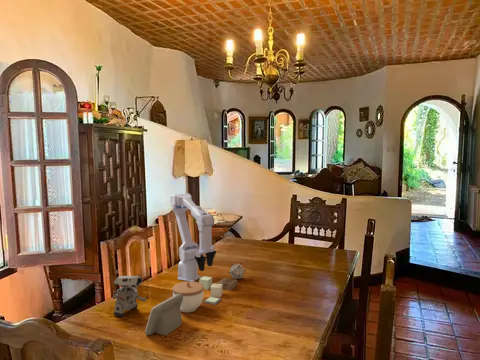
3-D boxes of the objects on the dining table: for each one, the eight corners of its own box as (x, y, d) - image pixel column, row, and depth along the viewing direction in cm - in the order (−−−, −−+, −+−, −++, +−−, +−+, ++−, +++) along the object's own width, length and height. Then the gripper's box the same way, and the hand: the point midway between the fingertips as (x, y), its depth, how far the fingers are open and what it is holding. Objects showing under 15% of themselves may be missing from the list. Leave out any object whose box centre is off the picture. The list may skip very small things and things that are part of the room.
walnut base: (217, 288, 165) (217, 282, 165) (224, 283, 172) (224, 277, 171) (230, 291, 162) (230, 284, 162) (237, 286, 169) (237, 280, 168)
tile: (202, 302, 149) (202, 300, 149) (209, 297, 154) (209, 295, 154) (215, 305, 146) (215, 303, 146) (221, 299, 152) (221, 298, 152)
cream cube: (210, 296, 155) (210, 287, 155) (212, 292, 159) (212, 283, 159) (220, 297, 154) (220, 287, 154) (222, 293, 159) (222, 283, 158)
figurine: (134, 320, 133) (133, 282, 132) (110, 315, 137) (109, 277, 136) (149, 310, 141) (148, 274, 140) (126, 305, 145) (125, 270, 144)
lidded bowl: (178, 318, 135) (177, 290, 134) (168, 305, 146) (168, 279, 145) (208, 311, 140) (208, 284, 140) (197, 299, 152) (197, 275, 151)
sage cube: (199, 288, 165) (199, 279, 165) (204, 285, 169) (204, 276, 169) (207, 289, 163) (207, 280, 163) (212, 286, 167) (212, 277, 167)
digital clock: (175, 316, 136) (175, 290, 135) (190, 323, 130) (190, 296, 130) (139, 332, 124) (138, 303, 123) (154, 341, 118) (154, 310, 117)
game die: (239, 287, 176) (243, 276, 169) (224, 280, 177) (227, 268, 171) (245, 274, 182) (249, 262, 176) (231, 267, 184) (234, 255, 178)
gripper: (205, 244, 156) (205, 274, 157) (220, 237, 169) (220, 264, 170) (191, 242, 159) (192, 271, 160) (207, 236, 172) (207, 263, 173)
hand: (205, 268), depth 165 cm, fingers open, 7 cm apart
